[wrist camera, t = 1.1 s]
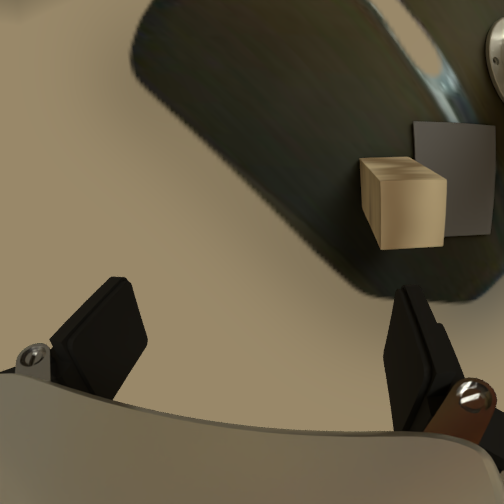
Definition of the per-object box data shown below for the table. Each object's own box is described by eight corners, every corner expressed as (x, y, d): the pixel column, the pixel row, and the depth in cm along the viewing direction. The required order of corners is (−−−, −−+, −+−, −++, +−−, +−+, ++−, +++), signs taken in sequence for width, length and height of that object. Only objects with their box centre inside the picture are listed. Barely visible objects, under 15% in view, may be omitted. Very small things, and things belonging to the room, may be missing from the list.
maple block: (407, 156, 28) (446, 179, 19) (408, 205, 30) (442, 246, 21) (359, 158, 29) (380, 181, 20) (361, 207, 31) (380, 249, 22)
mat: (493, 125, 24) (495, 125, 24) (488, 233, 29) (490, 234, 29) (412, 121, 26) (413, 121, 26) (413, 237, 31) (414, 238, 31)
